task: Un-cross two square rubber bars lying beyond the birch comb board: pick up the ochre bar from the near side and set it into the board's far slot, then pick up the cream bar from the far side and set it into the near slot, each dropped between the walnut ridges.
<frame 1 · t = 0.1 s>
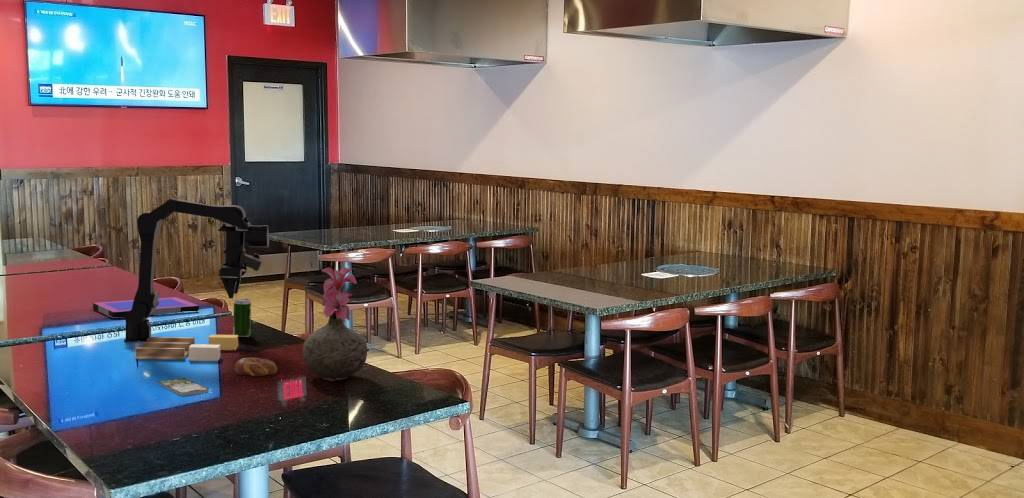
hand: (233, 295, 274), 15 cm above the table, fingers open, 9 cm apart
vase: (333, 378, 239), on the table
ochre bar: (223, 349, 266), on the table
pretzel: (256, 373, 241), on the table
book: (146, 312, 319), on the table
cream bar: (204, 359, 252), on the table
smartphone: (182, 389, 222), on the table
beer can: (241, 337, 284), on the table
comb board: (166, 352, 257), on the table
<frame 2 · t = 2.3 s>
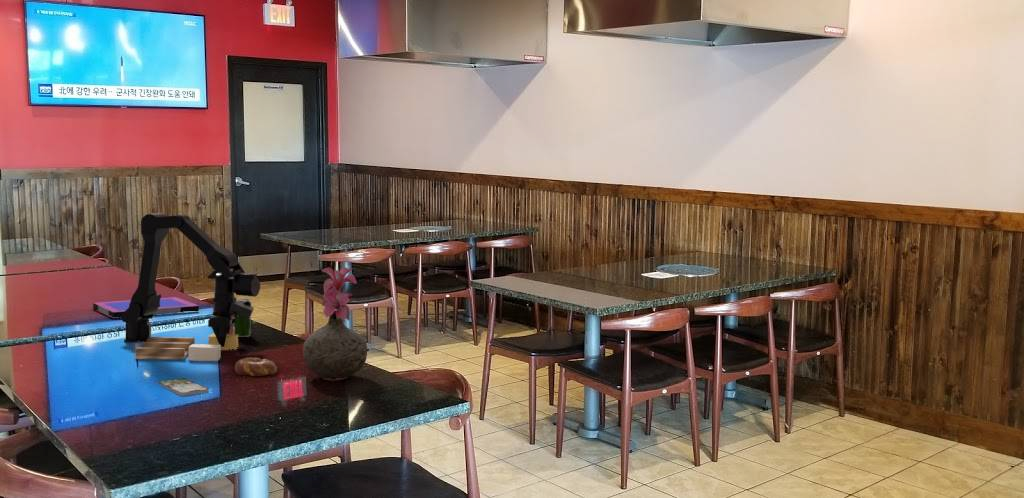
hand: (223, 345, 266), 1 cm above the table, fingers closed on ochre bar, 4 cm apart
ochre bar: (223, 348, 266), on the table, touching gripper
everything else where it was.
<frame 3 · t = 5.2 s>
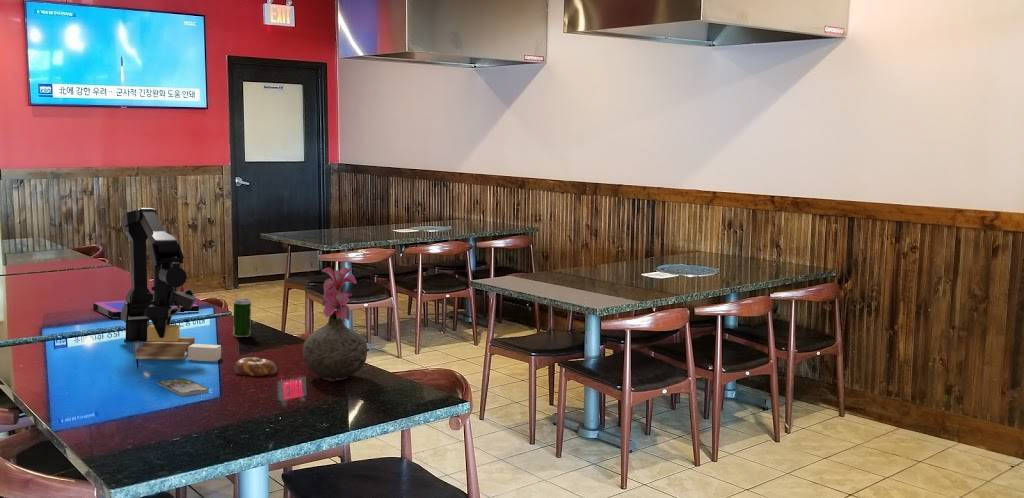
hand: (163, 336, 253), 6 cm above the table, fingers closed on ochre bar, 4 cm apart
ochre bar: (163, 339, 253), point 5 cm above the table, touching gripper
everything else where it was.
when the fingers open (4 cm above the table, at t = 5.8 s): ochre bar drops 2 cm, resting on comb board.
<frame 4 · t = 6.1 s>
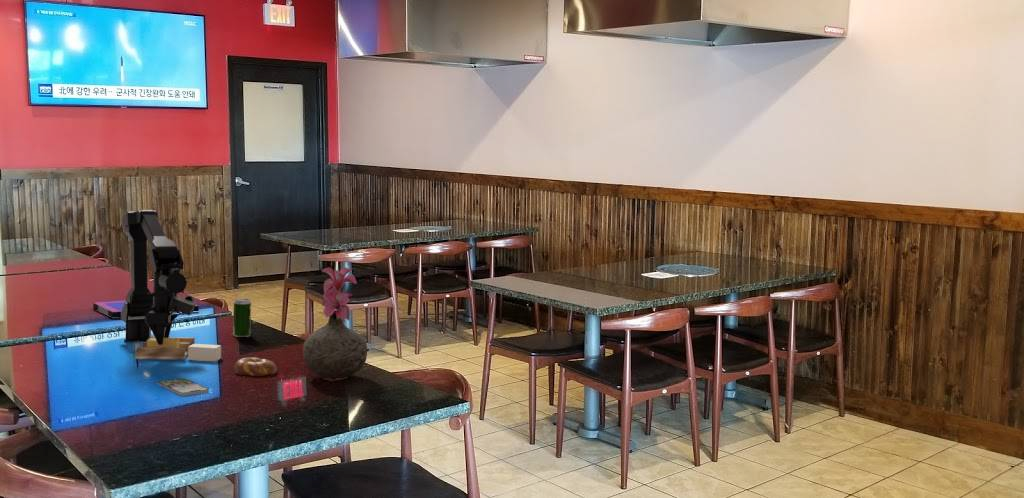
hand: (163, 342, 253), 4 cm above the table, fingers open, 7 cm apart
ochre bar: (163, 352, 253), point 1 cm above the table, touching comb board
everything else where it was.
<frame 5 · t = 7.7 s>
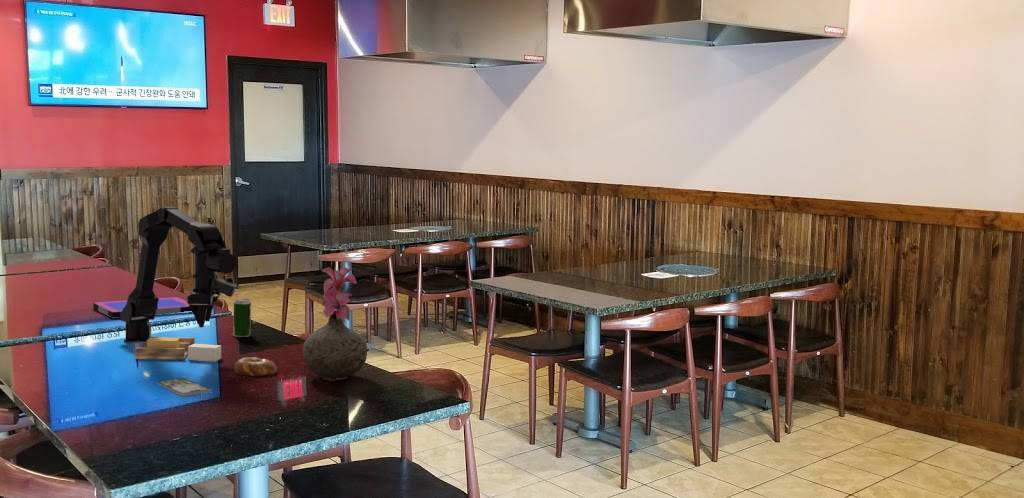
hand: (204, 324, 251), 10 cm above the table, fingers open, 9 cm apart
nothing on the table moved.
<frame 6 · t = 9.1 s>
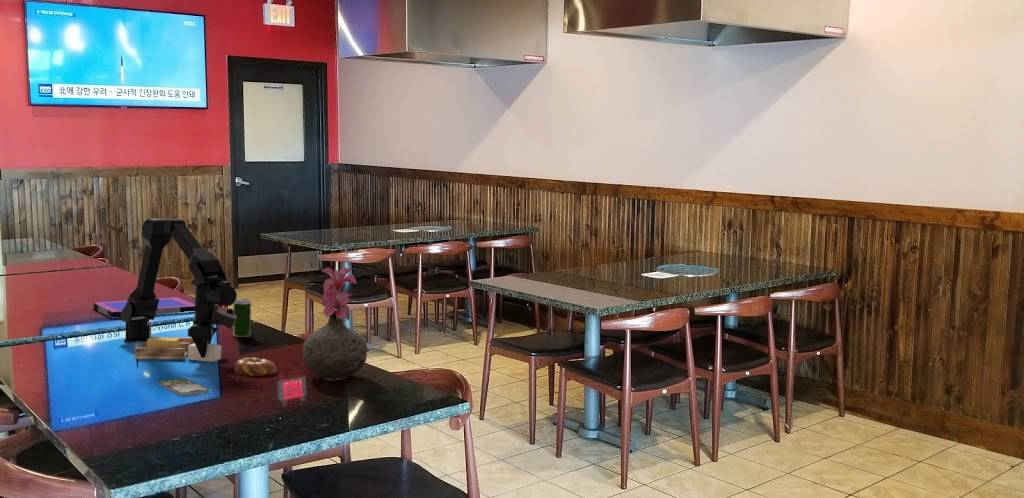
hand: (204, 355, 252), 1 cm above the table, fingers closed on cream bar, 5 cm apart
cream bar: (204, 359, 252), on the table, touching gripper
everything else where it was.
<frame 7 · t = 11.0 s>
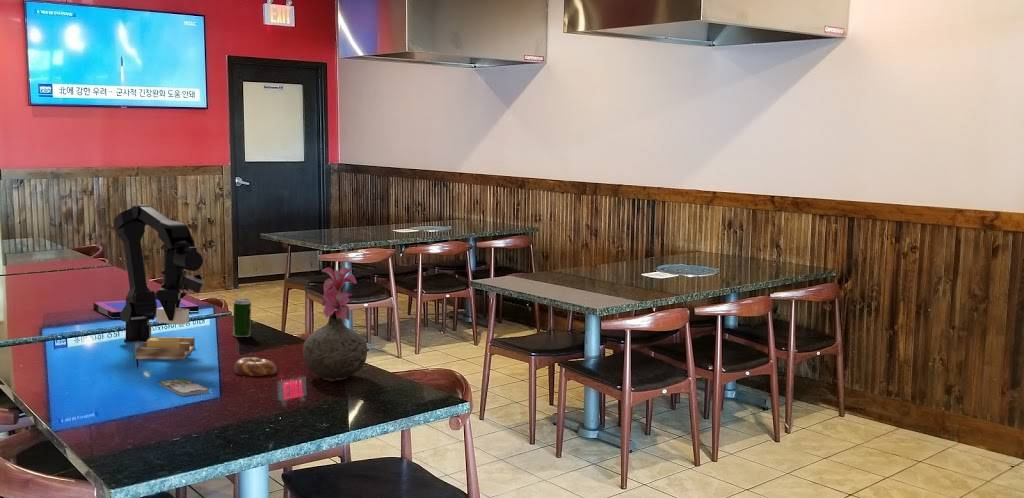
hand: (172, 318, 259), 10 cm above the table, fingers closed on cream bar, 5 cm apart
cream bar: (172, 322, 259), point 9 cm above the table, touching gripper
everything else where it was.
when the fingers open (4 cm above the table, at t = 12.6 s): cream bar drops 2 cm, resting on comb board.
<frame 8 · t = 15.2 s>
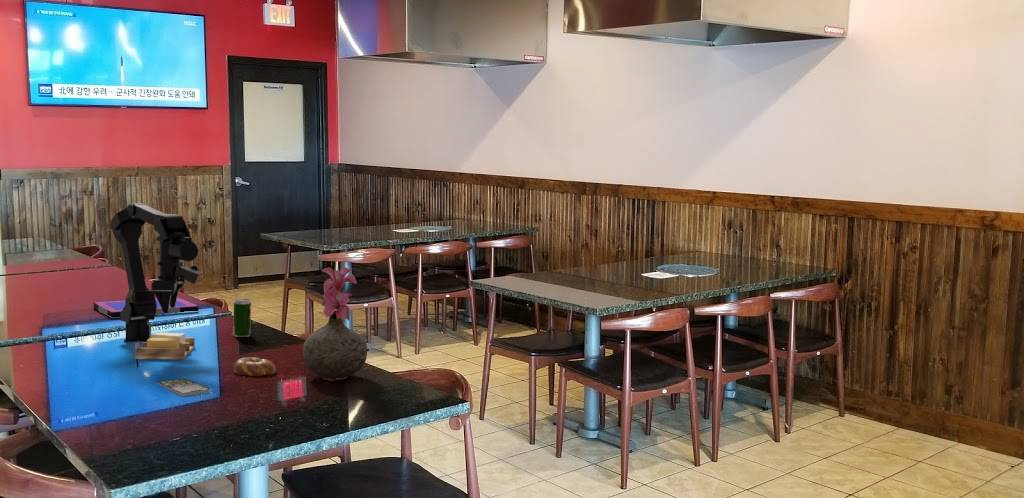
hand: (169, 310, 259), 12 cm above the table, fingers open, 9 cm apart
cream bar: (168, 347, 260), point 1 cm above the table, touching comb board
everything else where it was.
at the end: ochre bar inside the target area on the comb board (0.1 cm from its centre), point 0.8 cm above the comb board's base; cream bar inside the target area on the comb board (0.0 cm from its centre), point 0.8 cm above the comb board's base; the gripper is holding nothing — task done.
